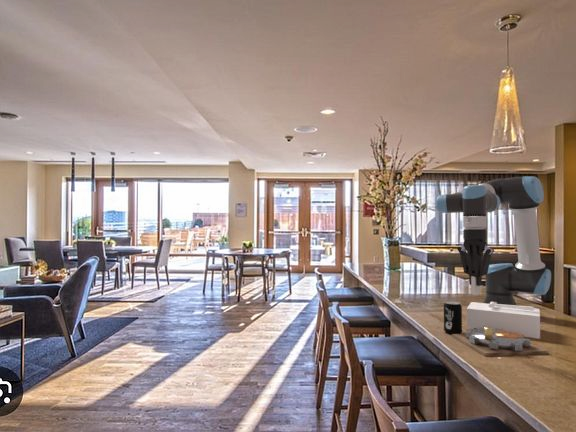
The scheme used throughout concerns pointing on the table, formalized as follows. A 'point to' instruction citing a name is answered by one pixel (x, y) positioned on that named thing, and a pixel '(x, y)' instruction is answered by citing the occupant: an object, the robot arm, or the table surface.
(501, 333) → the sprocket
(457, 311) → the beverage can
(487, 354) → the board
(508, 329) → the tissue box
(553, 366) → the table surface
